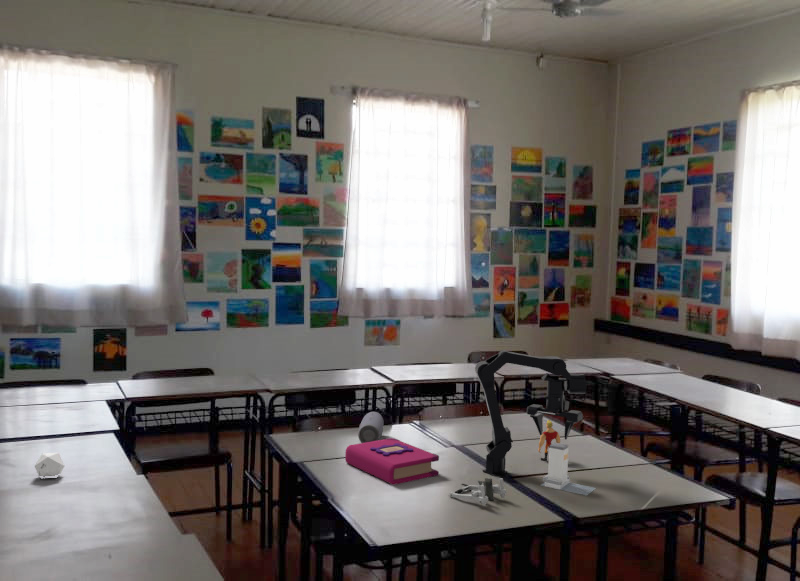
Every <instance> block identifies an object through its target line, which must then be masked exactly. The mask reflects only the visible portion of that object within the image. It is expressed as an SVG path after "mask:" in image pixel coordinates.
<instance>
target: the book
mask: <svg viewBox="0 0 800 581" xmlns="http://www.w3.org/2000/svg"><path fill="white" fill-rule="evenodd" d="M344 453H345V454H344V455H345V463H346V464H349V465H351V466H353V467H354V468H356V469H359V470H361V471H363V472H365V473H368V474H370V475H371V476H373V475H374V476H373V477H376V478H378V479H380V480H382V481H384V482H386V483H388V484H390V485H393V486H394V485H398V484H403V483H404V484H405V483H407V482H408V481H409V482H414V481H417V480H422V479H427V477H428V478H431V477H436V476H437V477H439V471H438V470H437V469H434V468H433V467H432V463H433V462H439V459H440V456H439V455H438V454H435V453H433V452H429V451H427V450H425V449H422V448H420V447H416V446H414V445H411V444H409V443H407V442H404V441H401V440H399V439H397V438H395V437H388V438H383V439H379V440H378V441H372V442H366V443H361V442H360V443H353V444H349V445H348V446H347V447H346V448H345V452H344ZM413 480H414V481H413Z"/></svg>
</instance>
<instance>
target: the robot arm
mask: <svg viewBox="0 0 800 581" xmlns="http://www.w3.org/2000/svg"><path fill="white" fill-rule="evenodd" d="M506 364H511V365H518V366H525V367H529V368H536V369H539V370H542V371H543V372H545V373H544V375H543V376H541V379H542V380H543V381H546V382H547V384H546V396H545V399H544V400H546V407H545V408H544V406H543V405H542V404H535V403H533V404H531V405H529V406H527V407H526V415H529V418H532V421H533V423H535V425H536V429H537V431H538V433H539V435H540V436H541V435H542V433H543V432H544V431H543V426H544V424H543V420H544V419H543V418H544V416H545V415H550V416H556V417H561V418H565V419H566V420H565V421H564V440H567V439H568V438H569V435H570V434H571V433H570V432H571V430H572V428H573V427H574V424H577V423H579V422H580V421H583V418H584V414H583V412H582V411H580V410H576V409H575V410H574V409H571V410H569V408H570V401H568V400H567V399H566V395H564V394H565V392H564V391H567V393H568V394H573V395H574V394H575V395H576V394H577V395H578V394H579V395H580V394H581V395H583V394H587V388H588V386H587V381H586V375H585V374H584V373H579V374H578V373H577V374H572V373H570V372H569V370H568V369H567V363H566V362H565V360H563V359H561V358H560V357H559V356H556V355H553V356H552V355H551V356H550V355H548V356H547V355H544V356H536V355H530V354H524V353H517V352H512V351H508V350H506V349H504V350H500V351H499V352H498V353H496V354H494V355H493V356H490V357H489V358H487V359H485V360H481V361H478V363H476V365H475V367H474V371H475V373H476V376H477V378H478V382H479V383H480V385H481V387H482V389H483V394H484V397H485V398H484V399H485V402H486V406H487V410H488V414H489V418H490V422H491V437H492V438H491V441H490V442H489V443H487V444H486V445H485V448H486V451H487V454H486V455H485V459H486V461H485V468H484V469H482V472H483V473H486V474H490V475H492V476H496V477H497V476H501V475H505V474H508V473H509V472H508V470H506V456H507V454H508V452H510V451H511V449H512V446H513V445H512V443H514V441H513V440H512V435H511V434H512V433H511V430H510V429H509V427H508V426H504V422H503V417H502V414H501V410H500V407H499V406H500V405H499V402H498V398H497V394H496V390H495V373H496V372H498V371H499V370H500V369H501V368H502V367H504V366H505V365H506ZM549 373H550V374H552V375H550V374H549ZM559 376H561V377H559Z"/></svg>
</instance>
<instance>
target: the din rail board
mask: <svg viewBox="0 0 800 581" xmlns="http://www.w3.org/2000/svg"><path fill="white" fill-rule="evenodd" d="M570 479H571V478H570V475H567V481H565V482H564V483H563V484H561V481H556V480H551V479H548V474H546V475H545V476H543V477H542V481H543V483H541V484H540V486H541V487H546V488H550V489H555V490H559V491H560V490H561V491H564V492H569V493H574V494H579V495H583V496H585V497H586V496H588V495H589V494H591V493H592V492H594V490H596V489H597V487H593V486H589V485H588V486H587V485H582V484H578V483H573V482H571V480H570Z"/></svg>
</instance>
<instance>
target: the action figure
mask: <svg viewBox="0 0 800 581" xmlns="http://www.w3.org/2000/svg"><path fill="white" fill-rule="evenodd" d="M553 426H554V425H553V422H552V421H551V420H550V419H548V420H547V421H546V426H545V427H546V430H545V431H543V432H542V435H540V436H539V437H540V438H539V443H538V449H537V451H538V453H539V454H542V451H541V449H542V447H543V446H544V444H545V448H544V457H540V461H548V456H549V448H550V445H551V444H552V441H553V440H555V441H556V442H555V443H560V444H561V437H560V434H559V432H558V431H556V430H555V429H554V428H553Z"/></svg>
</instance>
